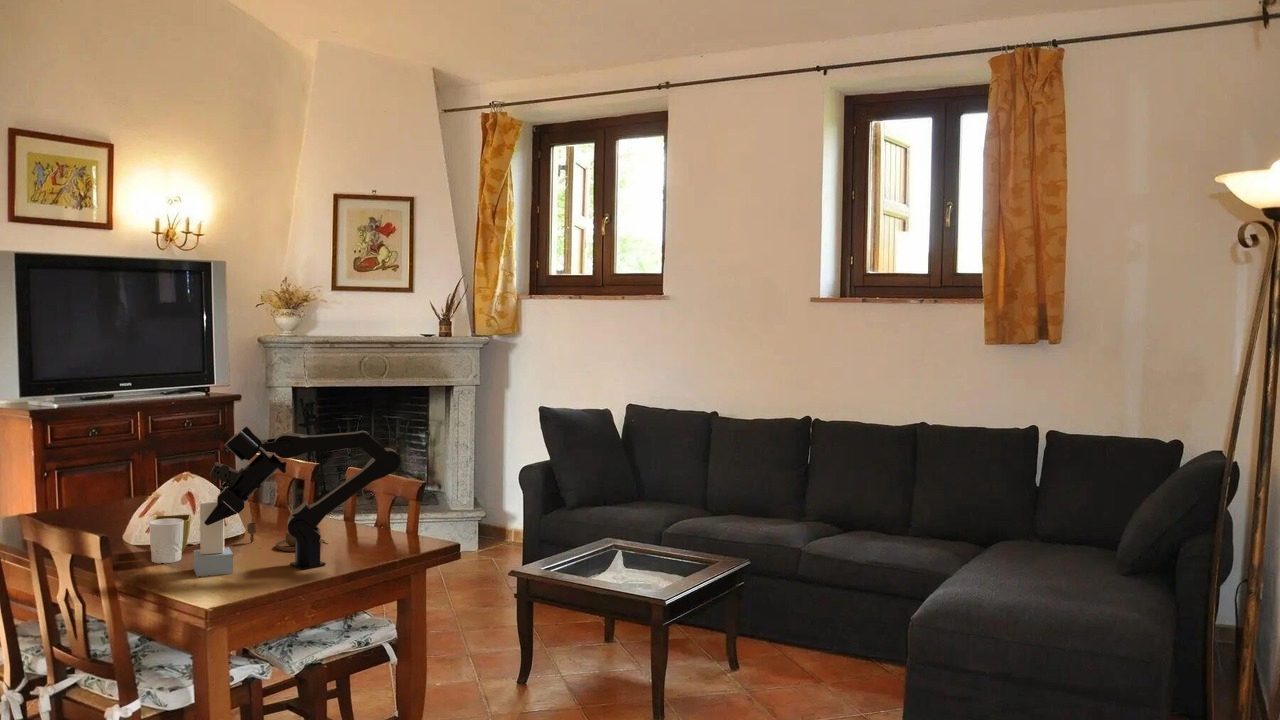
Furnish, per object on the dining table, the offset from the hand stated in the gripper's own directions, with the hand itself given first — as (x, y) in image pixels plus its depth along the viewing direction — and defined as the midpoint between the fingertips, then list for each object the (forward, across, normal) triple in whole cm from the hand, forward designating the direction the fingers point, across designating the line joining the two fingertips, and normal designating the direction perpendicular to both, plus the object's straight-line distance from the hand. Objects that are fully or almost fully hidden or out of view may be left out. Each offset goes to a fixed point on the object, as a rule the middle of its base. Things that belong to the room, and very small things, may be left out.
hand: (206, 520), depth 240 cm
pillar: (+5, 0, +6) cm, 8 cm away
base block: (+8, 0, +10) cm, 13 cm away
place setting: (-4, -25, +23) cm, 34 cm away
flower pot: (+16, -24, +2) cm, 29 cm away
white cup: (+16, -14, +2) cm, 22 cm away
